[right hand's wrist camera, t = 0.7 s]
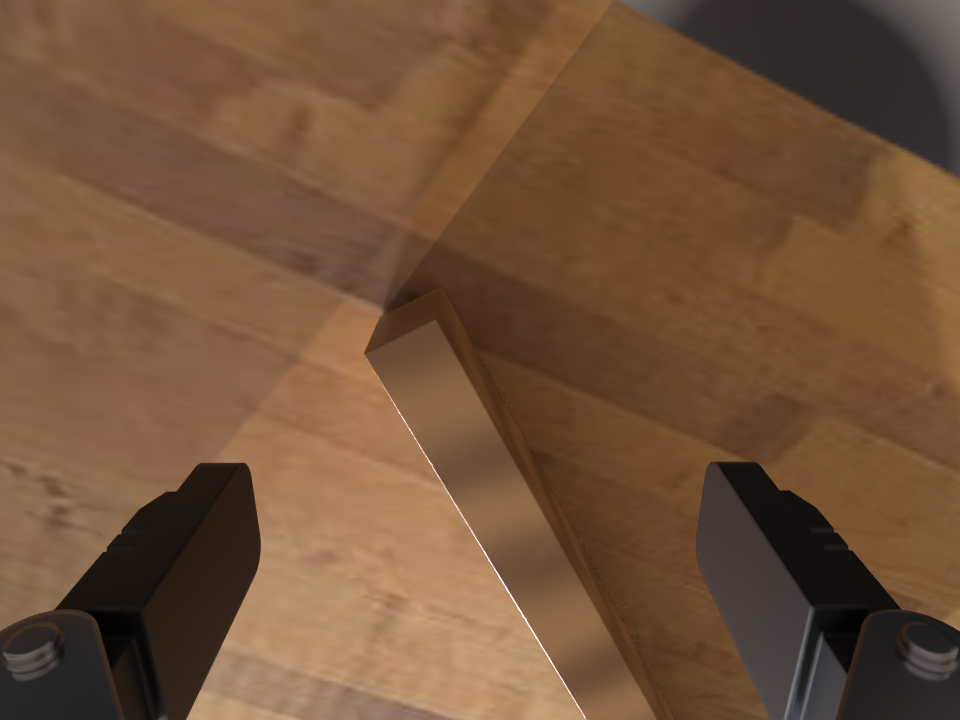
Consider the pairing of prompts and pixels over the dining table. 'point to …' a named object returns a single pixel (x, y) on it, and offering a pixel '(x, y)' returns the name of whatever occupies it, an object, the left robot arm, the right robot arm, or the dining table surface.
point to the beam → (510, 506)
